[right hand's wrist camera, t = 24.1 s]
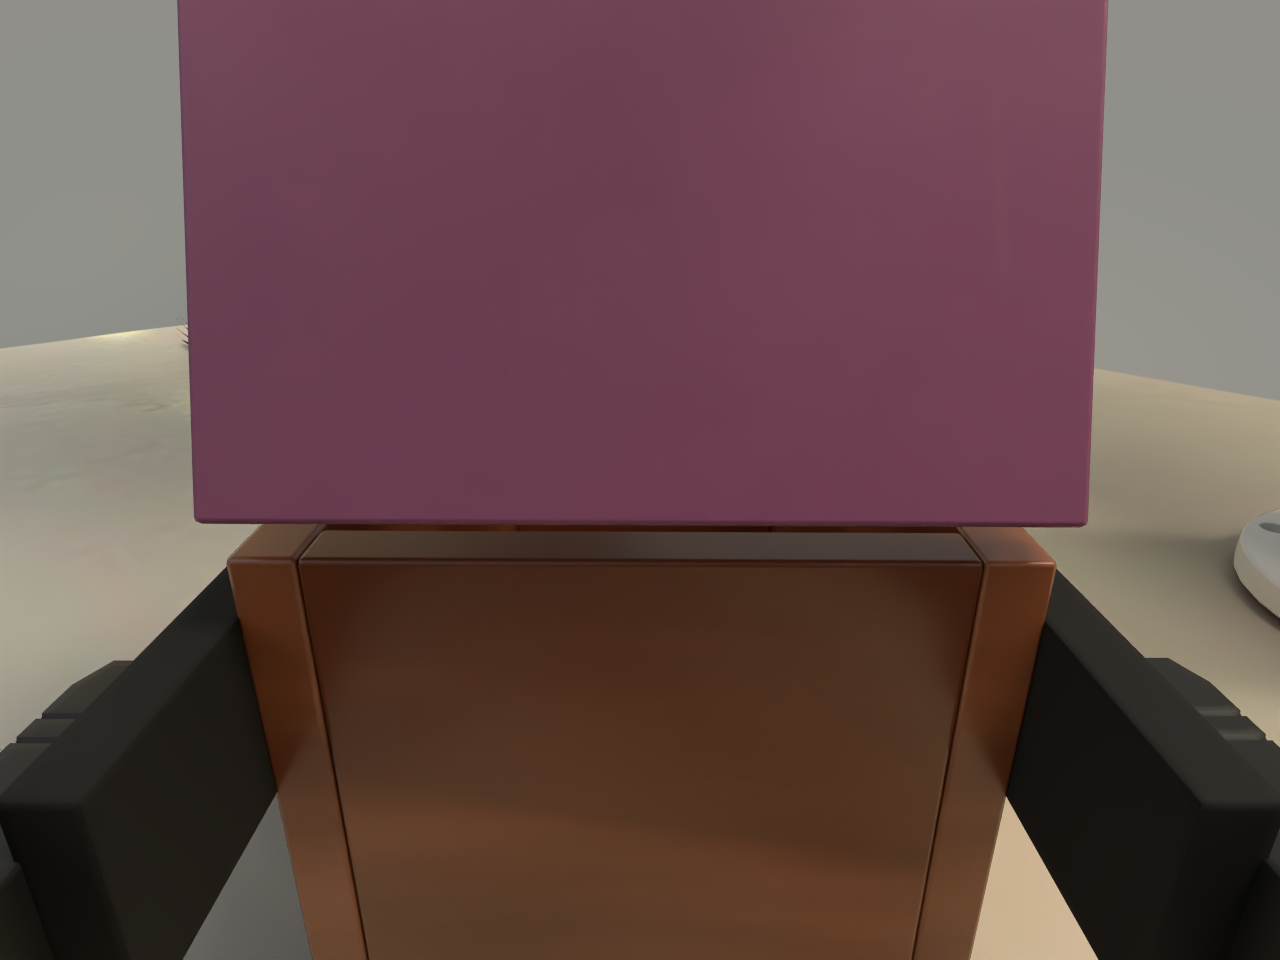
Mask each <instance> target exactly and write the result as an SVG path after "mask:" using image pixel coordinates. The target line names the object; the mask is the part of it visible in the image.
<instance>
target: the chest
mask: <svg viewBox="0 0 1280 960" xmlns="http://www.w3.org/2000/svg"><path fill="white" fill-rule="evenodd" d="M227 569H228V573H229V578H230V583H231V587H232V592H233V596H234V601H235V606H236V610H237V615H238V618H239V621H240V626H241V631H242V635H243V640H244V644H245V649H246V654H247V658H248V663H249V667H250V672H251V677H252V681H253V686H254V690H255V695H256V700H257V704H258V709H259V713H260V718H261V723H262V727H263V732H264V736H265V741H266V745H267V750H268V755H269V759H270V764H271V768H272V773H273V778H274V782H275V787H276V791H277V793H276V794H277V799H278V803H279V808H280V813H281V817H282V822H283V826H284V831H285V836H286V840H287V845H288V849H289V854H290V859H291V863H292V868H293V872H294V877H295V882H296V886H297V891H298V895H299V900H300V905H301V909H302V914H303V918H304V923H305V928H306V932H307V937H308V941H309V946H310V951H311V955H312V960H970V957H971V953H972V948H973V944H974V939H975V934H976V930H977V925H978V921H979V916H980V912H981V907H982V903H983V898H984V894H985V889H986V885H987V880H988V876H989V871H990V866H991V862H992V857H993V853H994V848H995V844H996V839H997V835H998V830H999V826H1000V821H1001V817H1002V812H1003V808H1004V803H1005V799H1006V794H1007V789H1008V785H1009V780H1010V776H1011V771H1012V767H1013V762H1014V758H1015V753H1016V749H1017V744H1018V740H1019V735H1020V731H1021V726H1022V722H1023V717H1024V712H1025V708H1026V703H1027V699H1028V694H1029V690H1030V685H1031V681H1032V676H1033V672H1034V667H1035V663H1036V658H1037V654H1038V649H1039V644H1040V640H1041V635H1042V631H1043V626H1044V622H1045V617H1046V613H1047V608H1048V604H1049V599H1050V595H1051V590H1052V586H1053V581H1054V577H1055V572H1056V562H1055V561H1054V560H1053V559H1052V558H1051V557H1050V556H1049V555H1048V554H1047V553H1046V552H1045V551H1044V549H1043V548H1042V547H1041V546H1040V545H1039V544H1038V543H1037V542H1036V541H1035V540H1034V539H1033V538H1032V537H1031V536H1030V535H1029V534H1028V533H1027V532H1026V531H1025V530H1024V528H1023V527H864V526H634V525H405V524H261V525H260V526H259V527H258V528H257V529H256V530H255V531H254V532H253V533H252V534H251V535H250V536H249V537H248V538H247V539H246V540H245V541H244V542H243V543H242V544H241V545H240V546H239V547H238V548H237V549H236V550H235V551H234V552H233V553H232V554H231V555H230V556H229V557H228V560H227Z"/></svg>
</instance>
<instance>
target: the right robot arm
mask: <svg viewBox="0 0 1280 960" xmlns="http://www.w3.org/2000/svg"><path fill="white" fill-rule="evenodd" d="M1265 735H1266V734H1265V733H1264V732H1263V731H1262V730H1260V729H1259V728H1258V727H1257V726H1256V725H1255V724H1254V723H1253V722H1252V721H1251V720H1250V719H1249V718H1248V717H1247V716H1241V715H1240V710H1239V709H1238V708H1237V707H1236V706H1235V705H1234V704H1233V703H1232V702H1231V701H1229V700H1228V699H1227V698H1226V697H1225V696H1224V695H1223V694H1222V693H1221V692H1220V691H1219V690H1218V689H1217V688H1216V687H1215V686H1213V685H1212V684H1211V683H1210V682H1209V681H1207V680H1205V679H1203V678H1202V677H1200V676H1198V675H1197V674H1195V673H1193V672H1191V671H1190V670H1188V669H1186V668H1184V667H1183V666H1181V665H1179V664H1177V663H1176V662H1174V661H1172V660H1170V659H1169V658H1144V657H1143V656H1142V655H1141V654H1140V653H1139V652H1138V650H1137V649H1136V648H1135V647H1134V646H1133V645H1132V644H1131V643H1130V642H1129V641H1128V640H1127V639H1126V638H1125V637H1124V636H1123V635H1122V634H1121V633H1120V632H1119V631H1118V630H1117V629H1116V628H1115V627H1114V626H1113V625H1112V624H1111V623H1110V622H1109V621H1108V620H1107V619H1106V618H1105V617H1104V616H1103V615H1102V614H1101V613H1100V612H1099V611H1098V610H1097V609H1096V608H1095V607H1094V606H1093V605H1092V604H1091V603H1090V602H1089V601H1088V600H1087V599H1086V598H1085V597H1084V596H1083V595H1082V594H1081V593H1080V592H1079V591H1078V590H1077V589H1076V588H1075V587H1074V586H1073V585H1072V584H1071V583H1070V582H1069V581H1068V580H1067V579H1066V578H1065V577H1064V576H1063V575H1062V574H1061V573H1060V572H1059V571H1058V570H1057V569H1056V572H1055V577H1054V581H1053V586H1052V590H1051V595H1050V599H1049V604H1048V608H1047V613H1046V617H1045V622H1044V626H1043V631H1042V635H1041V640H1040V644H1039V649H1038V654H1037V658H1036V663H1035V667H1034V672H1033V676H1032V681H1031V685H1030V690H1029V694H1028V699H1027V703H1026V708H1025V712H1024V717H1023V722H1022V726H1021V731H1020V735H1019V740H1018V744H1017V749H1016V753H1015V758H1014V762H1013V767H1012V771H1011V776H1010V780H1009V785H1008V789H1007V794H1006V797H1007V798H1008V800H1009V802H1010V804H1011V805H1012V807H1013V809H1014V811H1015V813H1016V814H1017V816H1018V818H1019V820H1020V821H1021V823H1022V825H1023V827H1024V829H1025V830H1026V832H1027V834H1028V836H1029V837H1030V839H1031V841H1032V843H1033V844H1034V846H1035V848H1036V850H1037V852H1038V853H1039V855H1040V857H1041V859H1042V860H1043V862H1044V864H1045V866H1046V867H1047V869H1048V871H1049V873H1050V875H1051V876H1052V878H1053V880H1054V882H1055V883H1056V885H1057V887H1058V889H1059V891H1060V892H1061V894H1062V896H1063V898H1064V899H1065V901H1066V903H1067V905H1068V906H1069V908H1070V910H1071V912H1072V914H1073V915H1074V917H1075V919H1076V921H1077V922H1078V924H1079V926H1080V928H1081V929H1082V931H1083V933H1084V935H1085V937H1086V938H1087V940H1088V942H1089V944H1090V945H1091V947H1092V949H1093V951H1094V952H1095V954H1096V956H1097V958H1098V960H1280V747H1279V746H1278V745H1276V744H1275V743H1274V742H1273V741H1272V740H1266V737H1265ZM276 793H277V791H276V787H275V782H274V778H273V773H272V768H271V764H270V759H269V755H268V750H267V745H266V741H265V736H264V732H263V727H262V723H261V718H260V713H259V709H258V704H257V700H256V695H255V690H254V686H253V681H252V677H251V672H250V667H249V663H248V658H247V654H246V649H245V644H244V640H243V635H242V631H241V626H240V621H239V618H238V615H237V610H236V606H235V601H234V596H233V592H232V587H231V583H230V578H229V573H228V569H227V567H226V568H225V569H224V570H223V571H222V572H221V573H220V574H219V575H218V576H217V577H216V578H215V579H214V580H213V581H212V582H211V583H210V584H209V585H208V586H207V587H206V588H205V589H204V590H203V591H202V592H201V593H200V594H199V595H198V596H197V597H196V598H195V599H194V600H193V601H192V602H191V603H190V604H189V605H188V606H187V607H186V608H185V609H184V610H183V611H182V612H181V613H180V614H179V615H178V616H177V617H176V618H175V619H174V620H173V621H172V622H171V623H170V624H169V625H168V626H167V627H166V628H165V629H164V630H163V631H162V632H161V633H160V634H159V635H158V636H157V637H156V638H155V639H154V640H153V642H152V643H151V644H150V645H149V646H148V647H147V648H146V649H145V650H144V651H143V652H142V653H141V654H140V655H139V656H138V657H137V658H136V659H135V660H134V661H113V662H111V663H109V664H107V665H106V666H104V667H102V668H100V669H99V670H97V671H95V672H94V673H92V674H90V675H88V676H87V677H85V678H83V679H81V680H80V681H78V682H76V683H75V684H73V685H72V686H70V687H69V688H68V689H67V690H66V691H65V692H64V693H63V694H62V695H61V696H60V697H59V698H58V699H57V700H56V701H55V702H53V703H52V704H51V705H50V706H49V707H48V708H47V709H46V710H45V711H44V712H43V713H42V718H41V719H35V720H34V721H33V722H32V723H31V724H30V725H29V726H28V727H27V728H26V729H25V730H24V731H23V732H22V733H21V734H20V735H18V736H17V741H16V743H10V744H9V745H8V746H7V747H6V748H5V749H4V750H3V751H1V752H0V960H183V958H184V956H185V954H186V952H187V951H188V949H189V947H190V945H191V944H192V942H193V940H194V938H195V937H196V935H197V933H198V931H199V929H200V928H201V926H202V924H203V922H204V921H205V919H206V917H207V915H208V913H209V912H210V910H211V908H212V906H213V905H214V903H215V901H216V899H217V898H218V896H219V894H220V892H221V890H222V889H223V887H224V885H225V883H226V882H227V880H228V878H229V876H230V875H231V873H232V871H233V869H234V867H235V866H236V864H237V862H238V860H239V859H240V857H241V855H242V853H243V852H244V850H245V848H246V846H247V844H248V843H249V841H250V839H251V837H252V836H253V834H254V832H255V830H256V828H257V827H258V825H259V823H260V821H261V820H262V818H263V816H264V814H265V813H266V811H267V809H268V807H269V805H270V804H271V802H272V800H273V798H274V797H275V795H276Z"/></svg>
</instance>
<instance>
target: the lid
mask: <svg viewBox="0 0 1280 960" xmlns="http://www.w3.org/2000/svg"><path fill="white" fill-rule="evenodd" d="M177 5H178V36H179V67H180V97H181V128H182V159H183V190H184V220H185V251H186V282H187V313H188V344H189V374H190V405H191V436H192V467H193V497H194V518H195V520H196V521H197V522H199V523H202V524H405V525H634V526H864V527H1082V526H1085V525H1086V524H1087V521H1088V499H1089V474H1090V449H1091V424H1092V398H1093V373H1094V347H1095V322H1096V297H1097V271H1098V246H1099V221H1100V196H1101V170H1102V145H1103V120H1104V94H1105V69H1106V44H1107V18H1108V0H177Z"/></svg>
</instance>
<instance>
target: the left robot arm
mask: <svg viewBox="0 0 1280 960" xmlns="http://www.w3.org/2000/svg"><path fill="white" fill-rule="evenodd" d="M1233 566H1234V568H1235V570H1236V572H1237V574H1238V577H1239V579H1240V581H1241V582H1242V583H1243V585H1244V586H1245V587H1246V588H1247V589H1248V590H1249V591H1250V592H1251V594H1252V595H1253V596H1254V597H1255V598H1256V599H1257V600H1258V601H1259V602H1260V603H1261V604H1262V605H1263V606H1265V607H1266V608H1267V609H1268V610H1270V611H1271V612H1272V613H1274V614H1275V615H1276V616H1277V617H1279V618H1280V509H1278V510H1275V511H1272V512H1269V513H1266V514H1263V515H1260V516H1258V517H1256V518H1254V519H1253V520H1252V521H1250V522H1249V523H1247V524H1246V525H1245V526H1244V528H1243V530H1242V532H1241V535H1240V537H1239V540H1238V544H1237V547H1236V550H1235V554H1234V565H1233Z"/></svg>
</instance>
